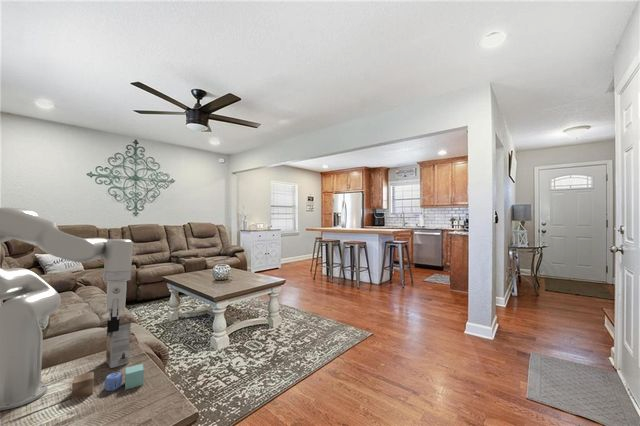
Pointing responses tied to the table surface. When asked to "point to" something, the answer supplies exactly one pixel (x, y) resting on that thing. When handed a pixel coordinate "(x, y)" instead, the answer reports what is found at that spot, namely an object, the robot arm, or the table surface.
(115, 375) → the decorative dice
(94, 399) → the table surface
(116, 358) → the coffee box
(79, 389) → the walnut block
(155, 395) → the table surface
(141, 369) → the teal block
